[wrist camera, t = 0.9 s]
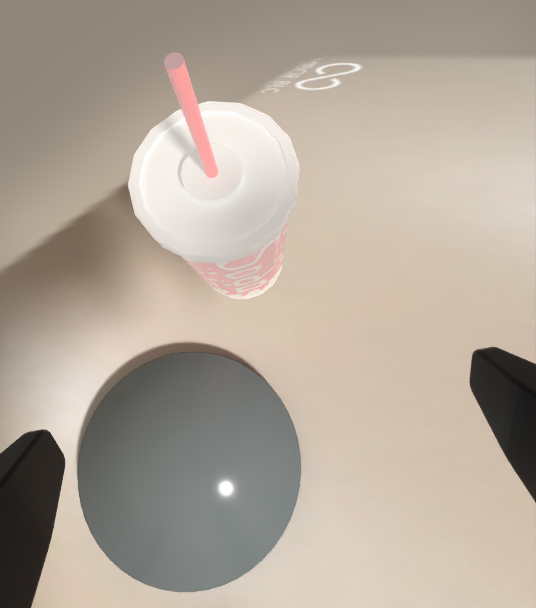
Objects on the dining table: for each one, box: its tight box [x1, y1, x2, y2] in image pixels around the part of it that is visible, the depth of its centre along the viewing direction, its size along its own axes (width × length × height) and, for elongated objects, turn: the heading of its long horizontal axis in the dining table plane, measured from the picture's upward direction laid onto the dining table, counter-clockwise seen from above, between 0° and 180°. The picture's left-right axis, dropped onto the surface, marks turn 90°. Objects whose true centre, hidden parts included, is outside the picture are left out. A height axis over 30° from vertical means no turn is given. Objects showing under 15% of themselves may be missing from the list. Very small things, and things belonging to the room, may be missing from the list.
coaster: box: [78, 352, 301, 592], centre depth 20 cm, size 11×11×1 cm
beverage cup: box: [128, 53, 300, 299], centre depth 16 cm, size 6×6×14 cm
